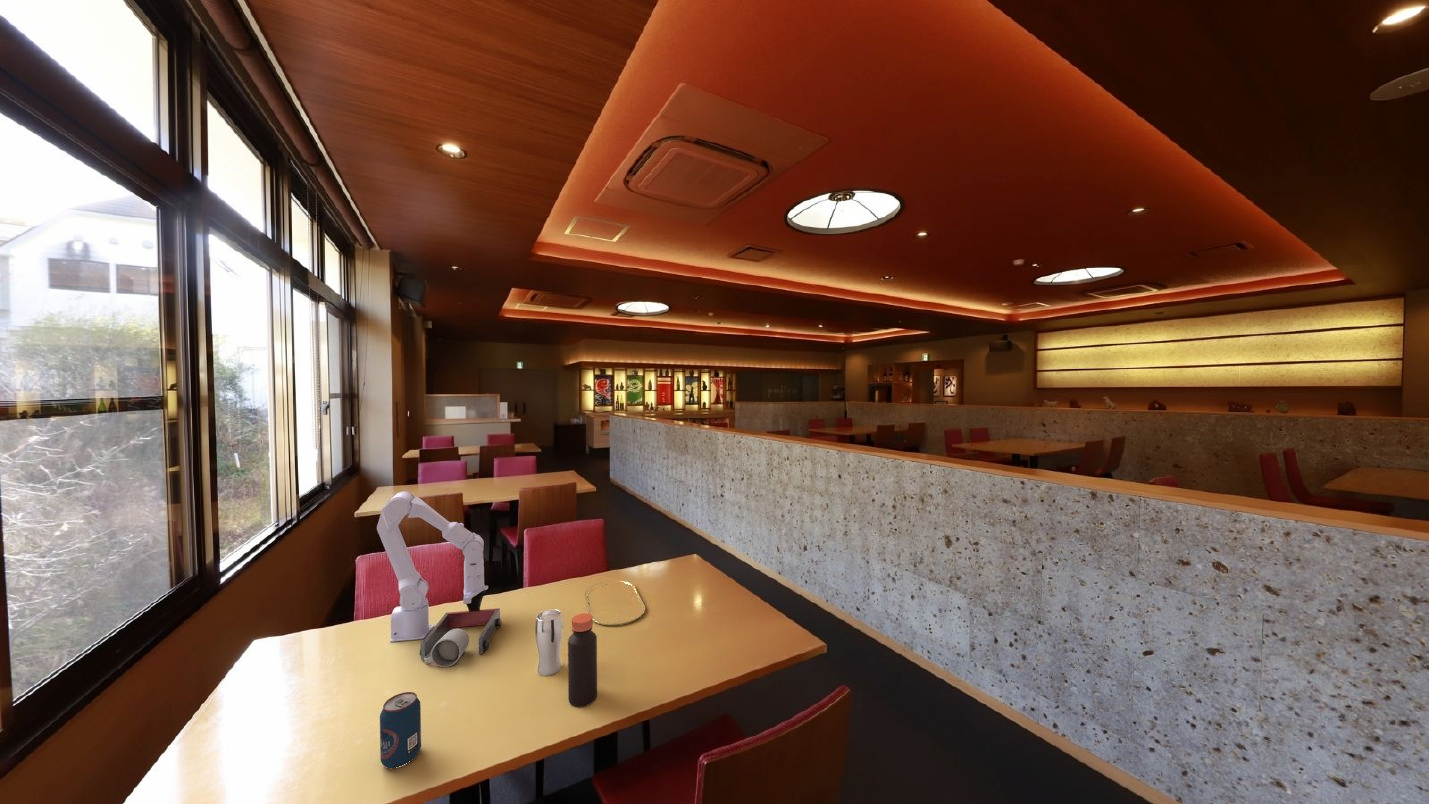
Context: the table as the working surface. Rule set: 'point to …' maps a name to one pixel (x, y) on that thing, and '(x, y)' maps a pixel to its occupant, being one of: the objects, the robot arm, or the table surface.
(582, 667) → the bottle
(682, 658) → the table surface
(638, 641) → the table surface
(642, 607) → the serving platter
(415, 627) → the robot arm
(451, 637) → the ceramic mug
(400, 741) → the soda can
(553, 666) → the beer glass
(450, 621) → the grey u-frame
